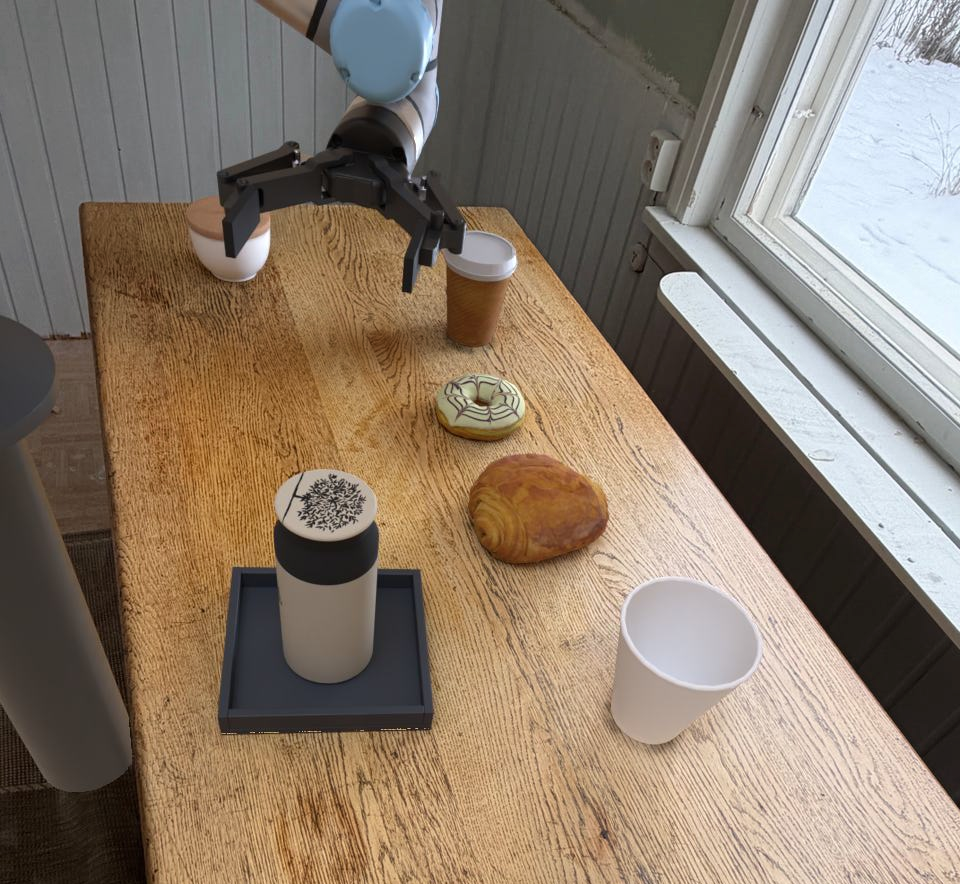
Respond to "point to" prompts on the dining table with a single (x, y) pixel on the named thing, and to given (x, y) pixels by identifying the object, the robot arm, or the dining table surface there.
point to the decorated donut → (480, 407)
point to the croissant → (535, 508)
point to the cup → (679, 656)
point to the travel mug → (326, 573)
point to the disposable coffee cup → (477, 286)
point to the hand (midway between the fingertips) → (318, 258)
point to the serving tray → (324, 706)
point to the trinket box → (210, 242)
